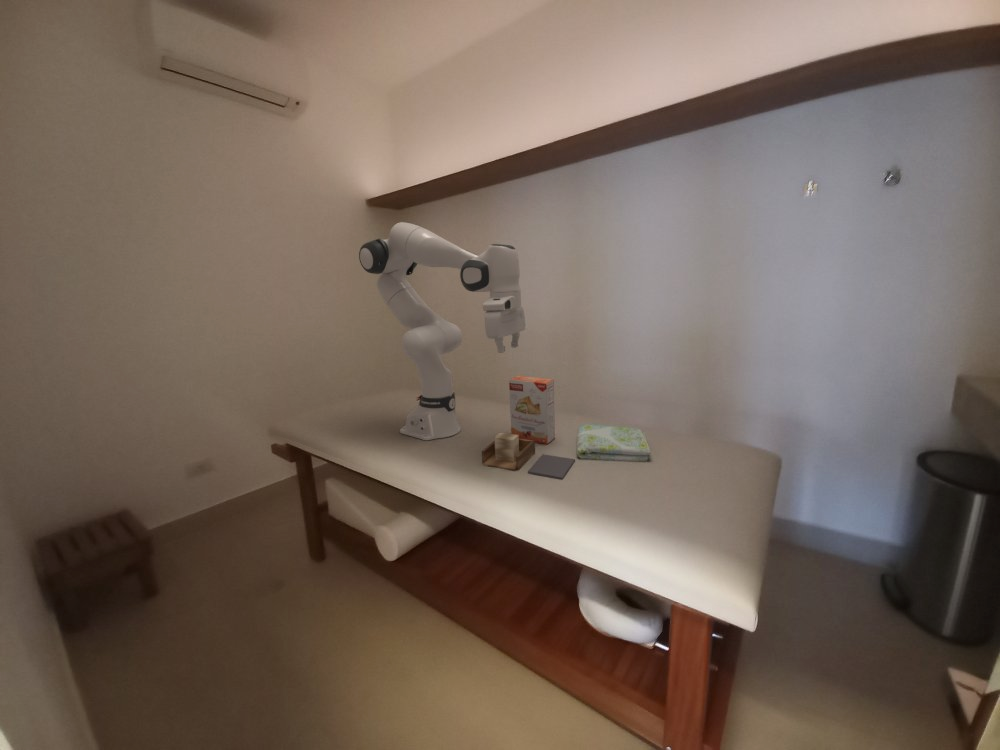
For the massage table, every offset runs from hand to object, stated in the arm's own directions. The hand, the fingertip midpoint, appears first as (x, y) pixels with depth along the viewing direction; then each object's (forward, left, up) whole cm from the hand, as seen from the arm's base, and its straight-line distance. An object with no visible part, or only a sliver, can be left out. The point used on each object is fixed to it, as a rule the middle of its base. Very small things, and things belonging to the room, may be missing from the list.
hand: (508, 349), depth 117 cm
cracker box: (+2, +13, -33) cm, 35 cm away
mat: (+15, -5, -33) cm, 36 cm away
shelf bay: (+1, -5, -33) cm, 33 cm away
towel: (+28, +13, -33) cm, 45 cm away
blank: (+1, -5, -32) cm, 32 cm away
